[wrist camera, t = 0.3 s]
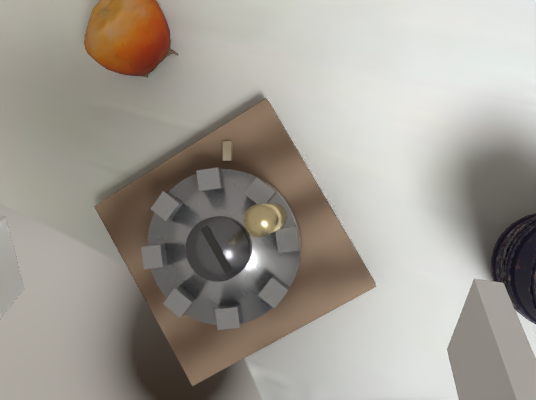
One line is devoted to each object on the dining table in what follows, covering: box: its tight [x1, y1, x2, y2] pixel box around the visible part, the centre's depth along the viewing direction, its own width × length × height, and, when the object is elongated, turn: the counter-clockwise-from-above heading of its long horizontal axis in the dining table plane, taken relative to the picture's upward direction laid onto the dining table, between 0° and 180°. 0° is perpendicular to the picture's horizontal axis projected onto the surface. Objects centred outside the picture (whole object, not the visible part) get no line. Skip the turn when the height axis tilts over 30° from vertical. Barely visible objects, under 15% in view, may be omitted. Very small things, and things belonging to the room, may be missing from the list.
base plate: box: [94, 99, 376, 386], centre depth 48 cm, size 20×20×2 cm
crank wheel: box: [141, 167, 302, 330], centre depth 42 cm, size 14×14×10 cm
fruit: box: [84, 0, 178, 77], centre depth 47 cm, size 8×8×8 cm
